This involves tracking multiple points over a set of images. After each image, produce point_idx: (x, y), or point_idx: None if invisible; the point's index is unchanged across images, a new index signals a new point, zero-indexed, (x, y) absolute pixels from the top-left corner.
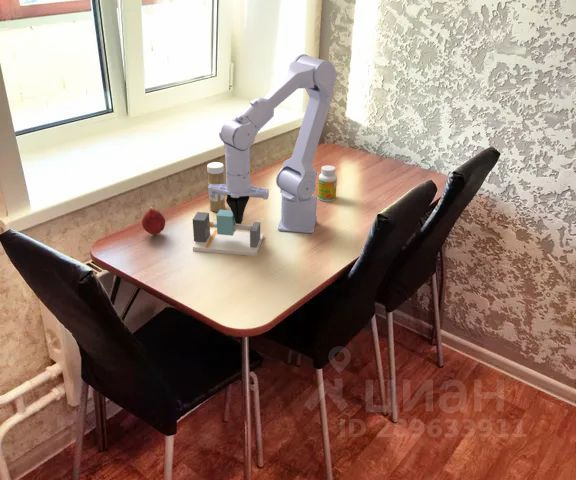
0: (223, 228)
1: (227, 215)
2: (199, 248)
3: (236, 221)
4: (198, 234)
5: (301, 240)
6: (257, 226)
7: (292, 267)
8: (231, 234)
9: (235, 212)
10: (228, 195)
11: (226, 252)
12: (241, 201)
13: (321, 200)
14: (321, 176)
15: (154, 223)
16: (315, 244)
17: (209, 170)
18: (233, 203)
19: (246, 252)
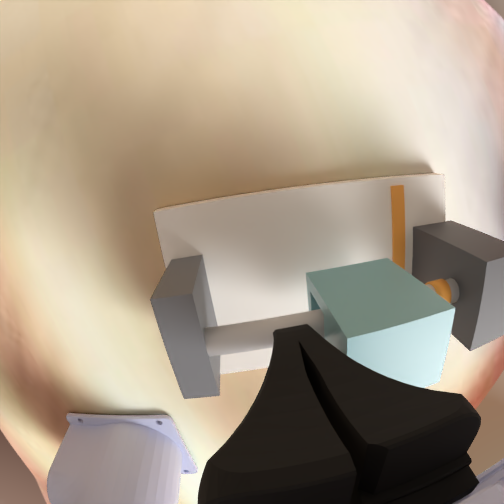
0: (372, 278)
1: (386, 340)
2: (419, 175)
3: (306, 331)
4: (457, 231)
5: (69, 374)
6: (174, 357)
7: (11, 188)
8: (315, 273)
9: (331, 370)
10: (463, 484)
11: (302, 186)
12: (272, 491)
13: None
14: None
15: None
16: (26, 358)
17: None
18: (388, 427)
19: (201, 203)
